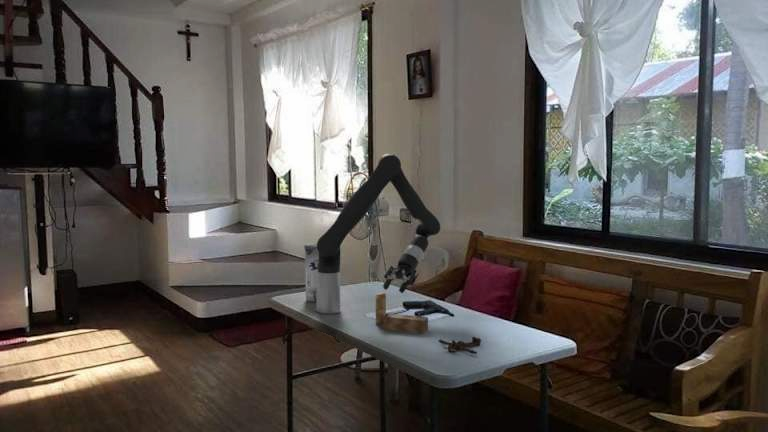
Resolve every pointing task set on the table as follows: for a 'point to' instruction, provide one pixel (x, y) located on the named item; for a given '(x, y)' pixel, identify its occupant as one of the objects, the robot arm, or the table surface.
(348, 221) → the robot arm
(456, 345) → the brown toy figure
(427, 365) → the table surface
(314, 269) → the juice carton
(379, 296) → the oak post
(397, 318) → the walnut rail
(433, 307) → the gun
